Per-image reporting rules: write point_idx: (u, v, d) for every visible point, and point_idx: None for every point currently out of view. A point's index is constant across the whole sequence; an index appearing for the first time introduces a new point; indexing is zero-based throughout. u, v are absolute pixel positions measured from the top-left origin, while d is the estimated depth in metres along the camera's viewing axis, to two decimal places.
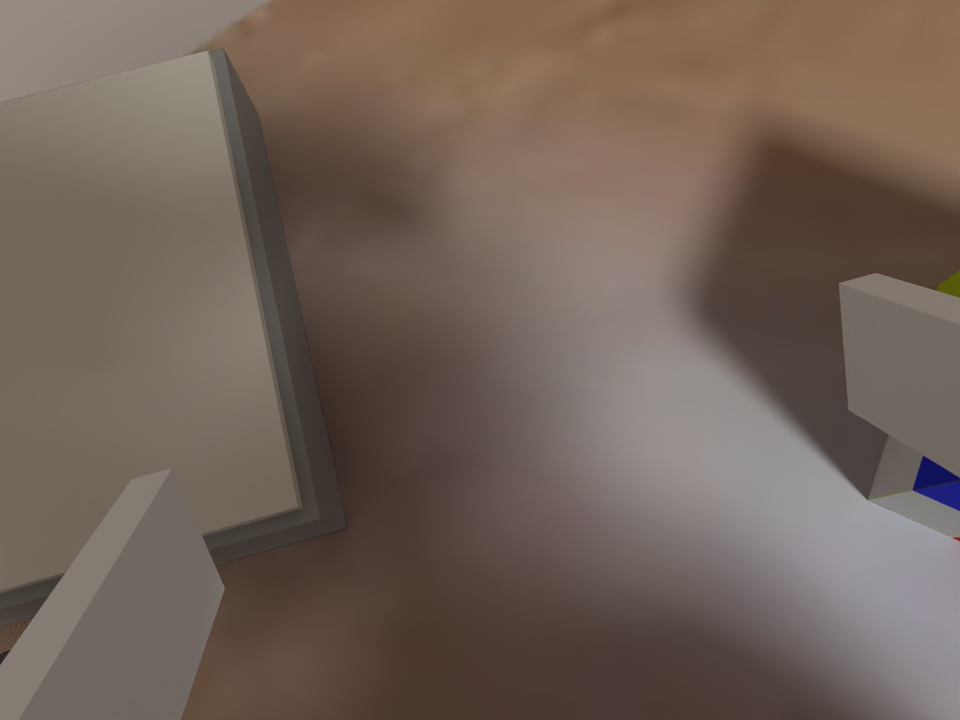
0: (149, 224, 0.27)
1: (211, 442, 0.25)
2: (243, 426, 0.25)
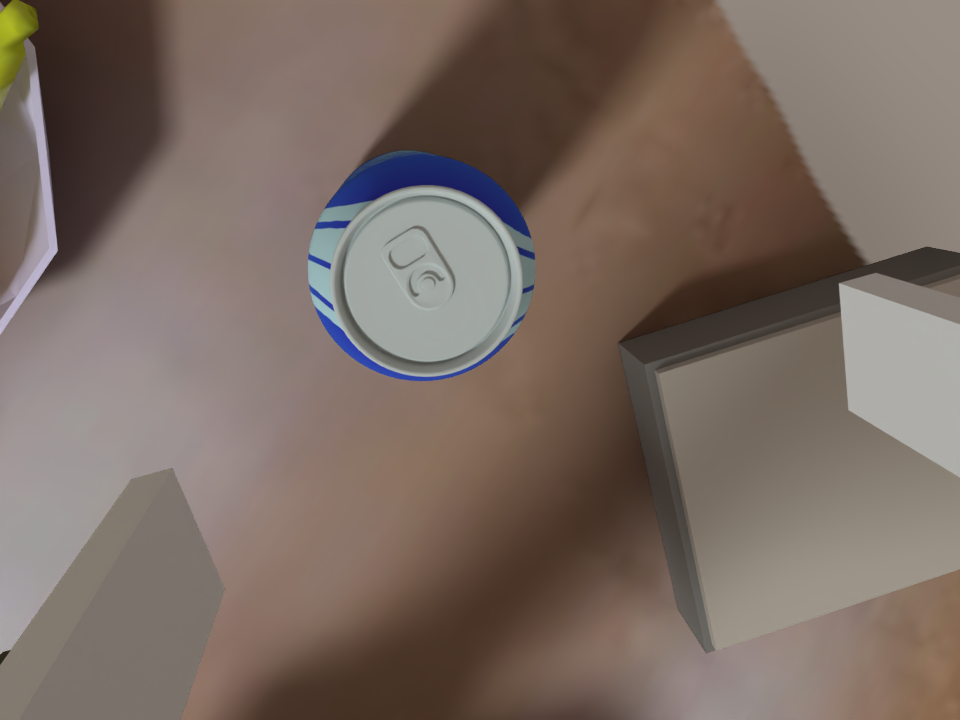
0: (888, 547, 0.44)
1: (754, 604, 0.44)
2: (761, 618, 0.44)
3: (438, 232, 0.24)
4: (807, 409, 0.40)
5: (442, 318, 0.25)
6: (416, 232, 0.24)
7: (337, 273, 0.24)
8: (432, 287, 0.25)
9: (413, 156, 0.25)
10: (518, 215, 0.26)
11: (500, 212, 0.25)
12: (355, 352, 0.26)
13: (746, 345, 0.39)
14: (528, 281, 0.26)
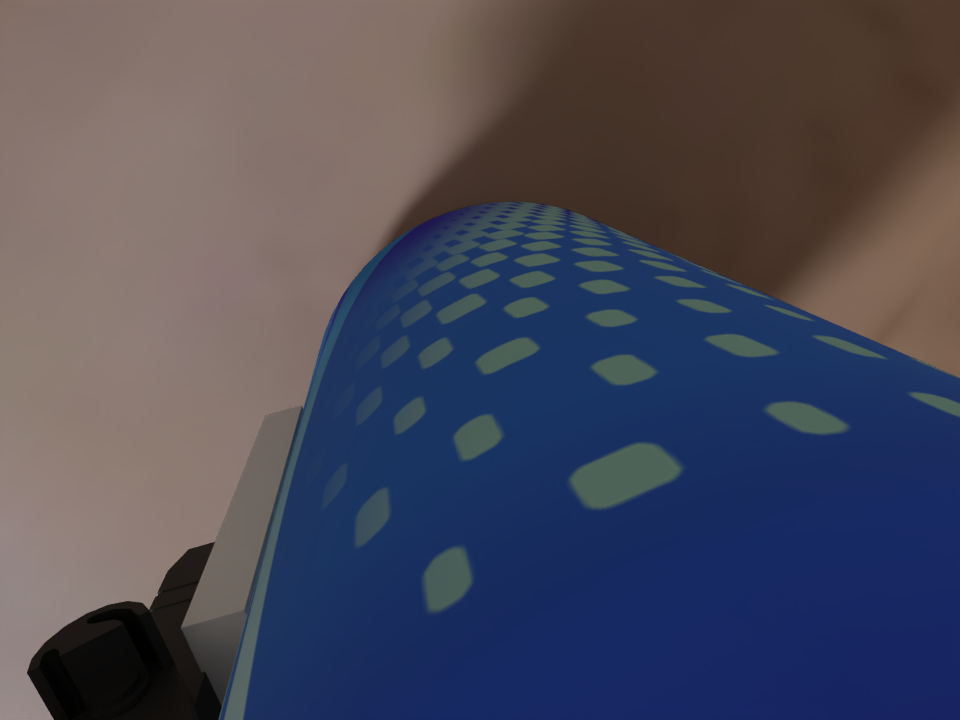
0: None
1: None
2: None
3: None
4: None
5: None
6: None
7: None
8: None
9: None
10: None
11: None
12: None
13: None
14: None
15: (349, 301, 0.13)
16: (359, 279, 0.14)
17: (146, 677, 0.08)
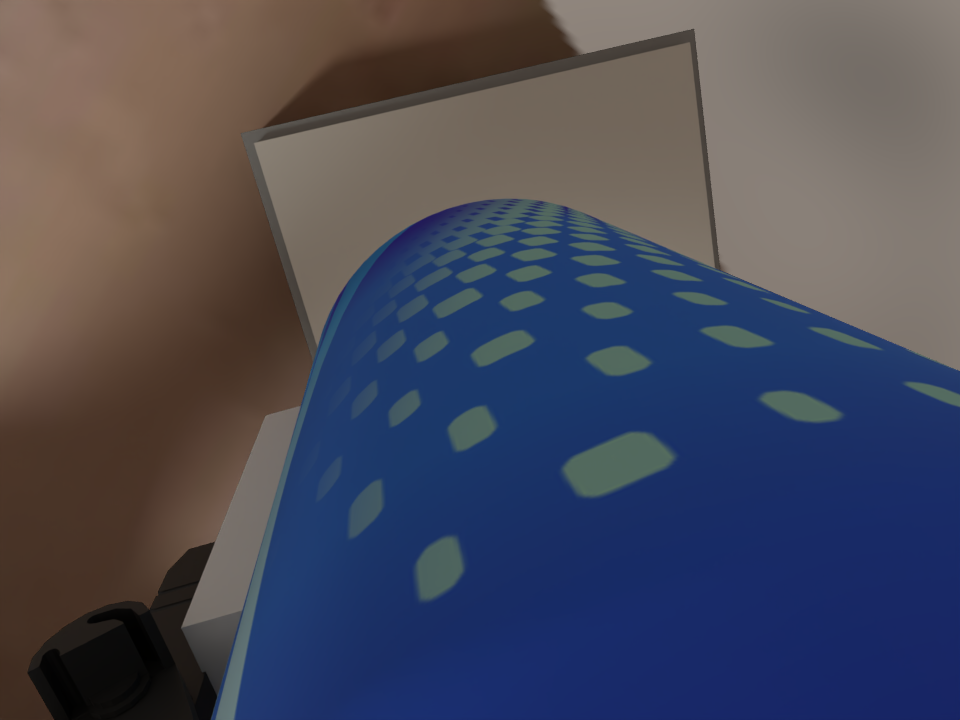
0: None
1: None
2: None
3: None
4: None
5: None
6: None
7: None
8: None
9: (957, 480, 0.03)
10: None
11: None
12: None
13: (373, 115, 0.30)
14: None
15: (347, 298, 0.13)
16: (357, 276, 0.14)
17: (146, 677, 0.08)
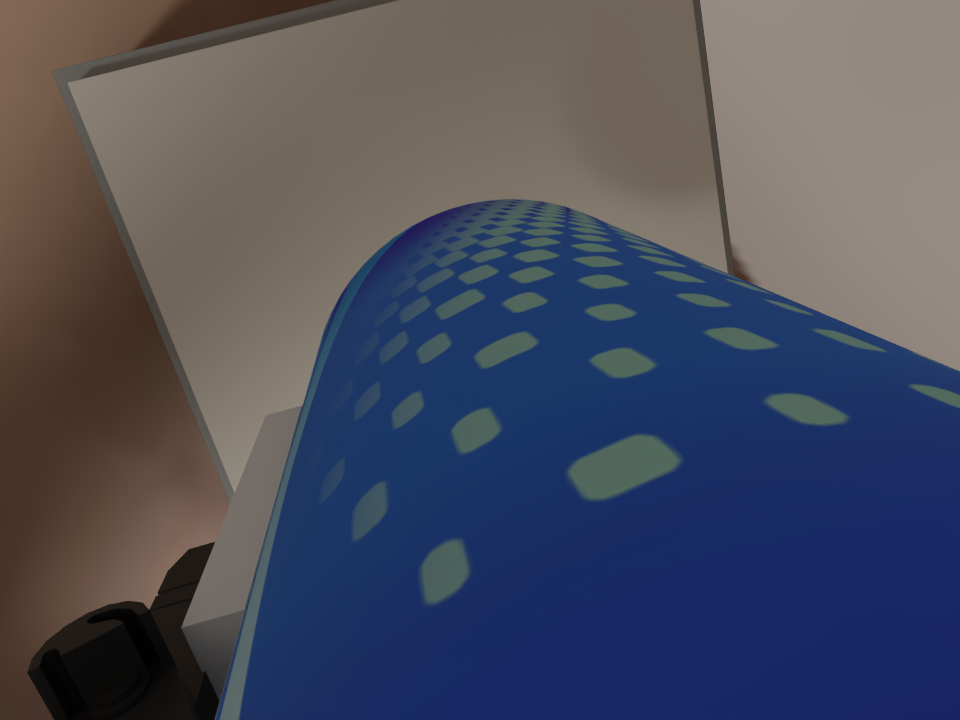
0: None
1: None
2: None
3: None
4: (376, 178, 0.23)
5: None
6: None
7: None
8: None
9: None
10: None
11: None
12: None
13: (237, 41, 0.21)
14: None
15: (348, 298, 0.13)
16: (358, 277, 0.14)
17: (146, 677, 0.08)
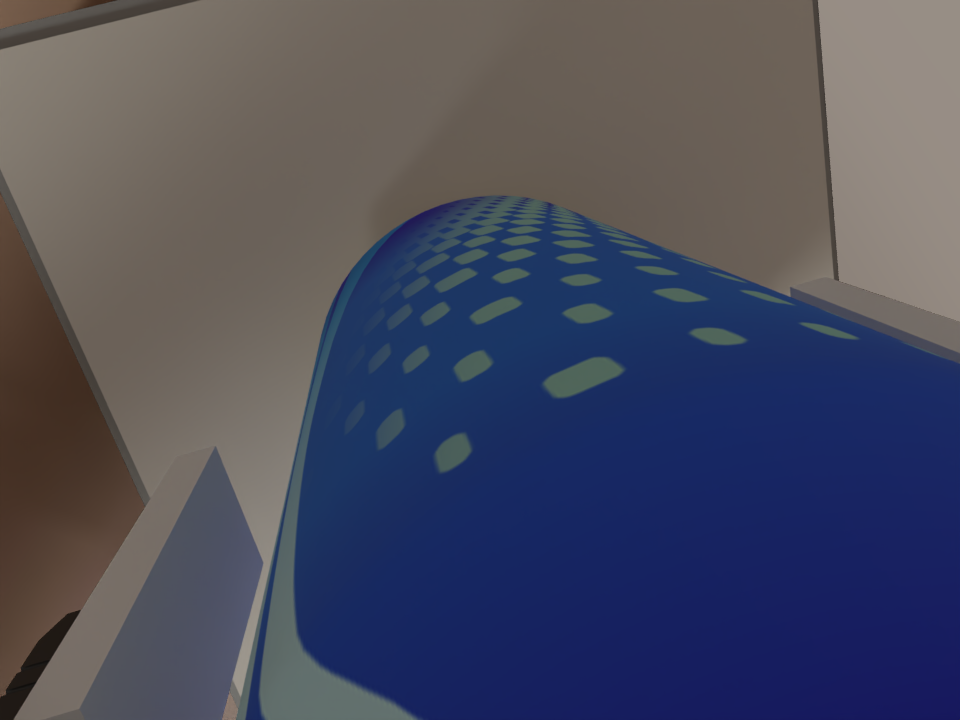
0: None
1: None
2: None
3: None
4: (380, 192, 0.17)
5: None
6: None
7: None
8: None
9: (816, 375, 0.04)
10: None
11: None
12: None
13: (189, 4, 0.15)
14: None
15: (351, 285, 0.14)
16: (359, 266, 0.15)
17: None
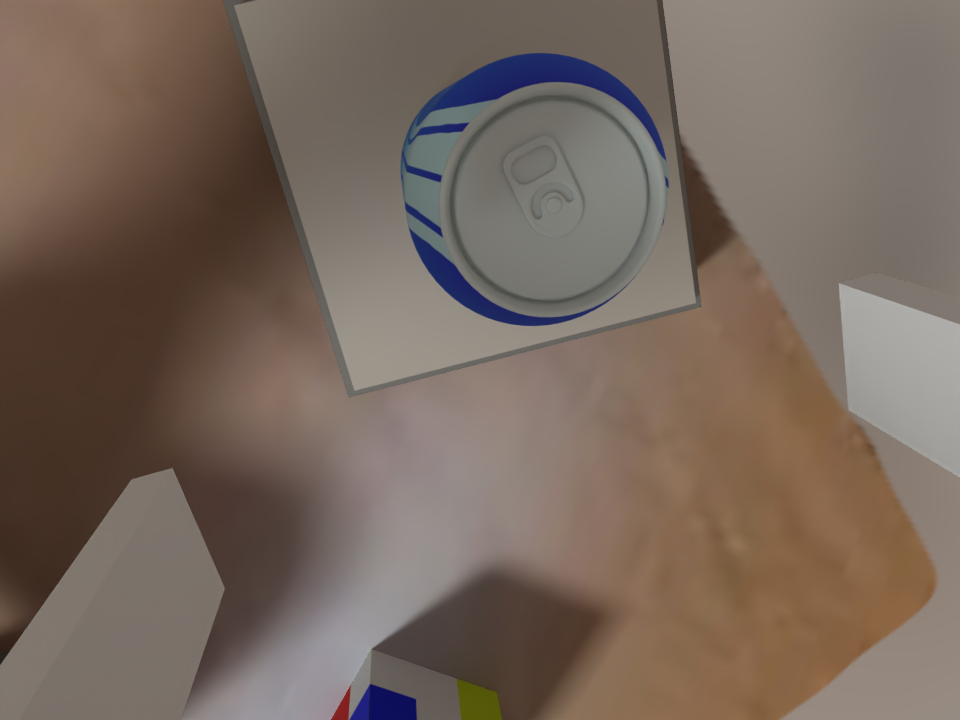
0: None
1: (395, 334, 0.38)
2: (406, 353, 0.38)
3: (570, 142, 0.20)
4: (433, 76, 0.34)
5: (564, 249, 0.21)
6: (545, 141, 0.20)
7: (448, 185, 0.20)
8: (558, 210, 0.21)
9: (540, 54, 0.21)
10: (656, 133, 0.22)
11: None
12: (455, 285, 0.22)
13: None
14: None
15: (421, 110, 0.31)
16: None
17: None
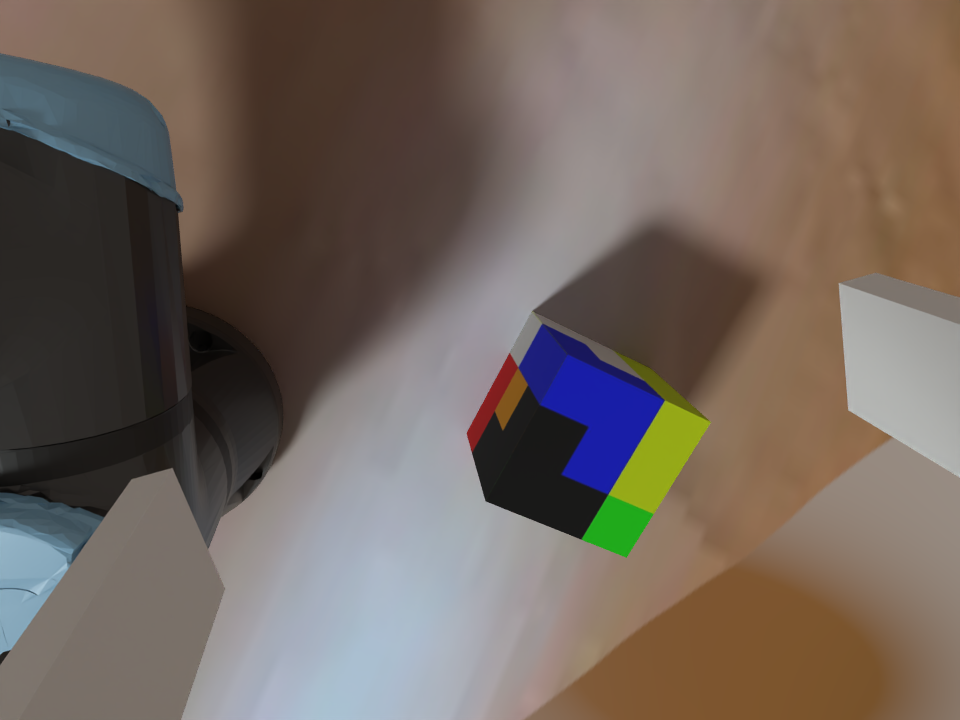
0: None
1: None
2: None
3: None
4: None
5: None
6: None
7: None
8: None
9: None
10: None
11: None
12: None
13: None
14: None
15: None
16: None
17: None
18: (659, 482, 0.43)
